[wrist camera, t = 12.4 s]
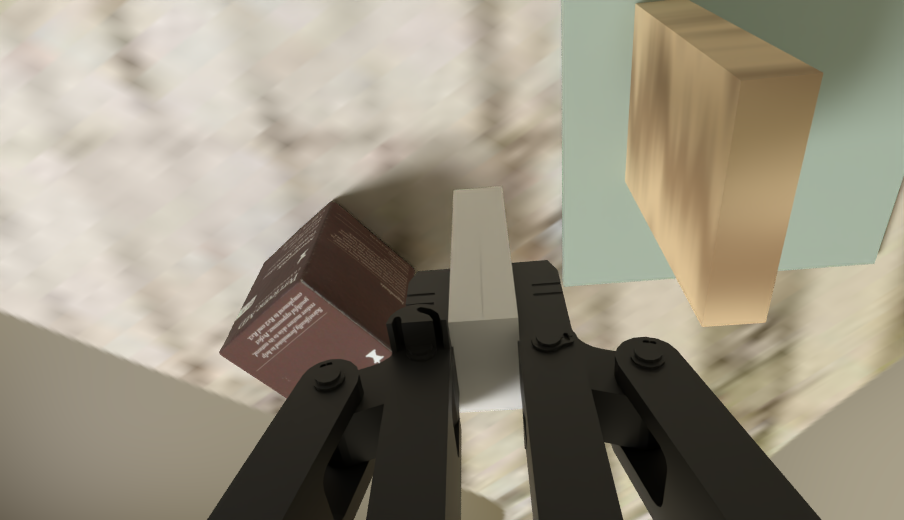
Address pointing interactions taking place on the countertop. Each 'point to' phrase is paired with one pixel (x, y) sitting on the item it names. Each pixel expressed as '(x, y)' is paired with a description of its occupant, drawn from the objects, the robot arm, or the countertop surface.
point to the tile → (716, 153)
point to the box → (319, 302)
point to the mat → (827, 152)
